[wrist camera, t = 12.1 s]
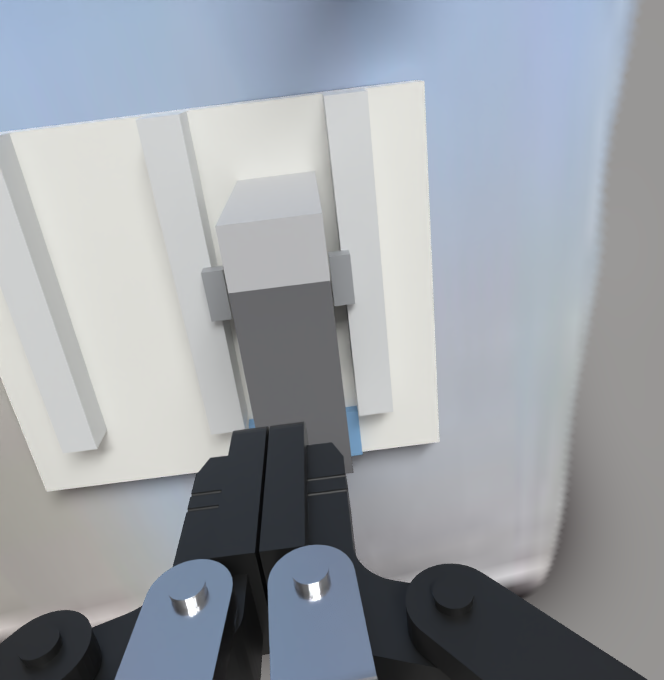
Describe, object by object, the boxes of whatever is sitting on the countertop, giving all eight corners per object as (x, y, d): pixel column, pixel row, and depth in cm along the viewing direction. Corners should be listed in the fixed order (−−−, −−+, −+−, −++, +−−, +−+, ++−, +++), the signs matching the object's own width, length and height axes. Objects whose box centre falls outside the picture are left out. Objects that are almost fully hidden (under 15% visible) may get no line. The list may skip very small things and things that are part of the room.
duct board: (57, 472, 30) (28, 522, 27) (-70, 140, 23) (-131, 153, 20) (432, 424, 30) (449, 469, 27) (416, 79, 23) (436, 83, 20)
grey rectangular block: (273, 383, 27) (266, 483, 20) (237, 180, 23) (214, 226, 16) (339, 375, 27) (353, 472, 20) (314, 170, 23) (322, 212, 16)
